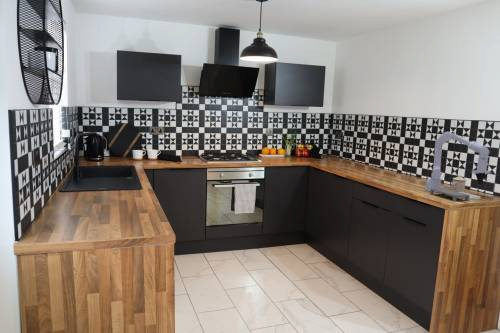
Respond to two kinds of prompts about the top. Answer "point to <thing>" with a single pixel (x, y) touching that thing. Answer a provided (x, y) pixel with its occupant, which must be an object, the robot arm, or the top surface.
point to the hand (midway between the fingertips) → (479, 183)
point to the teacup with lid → (458, 184)
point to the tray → (471, 196)
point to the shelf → (450, 193)
